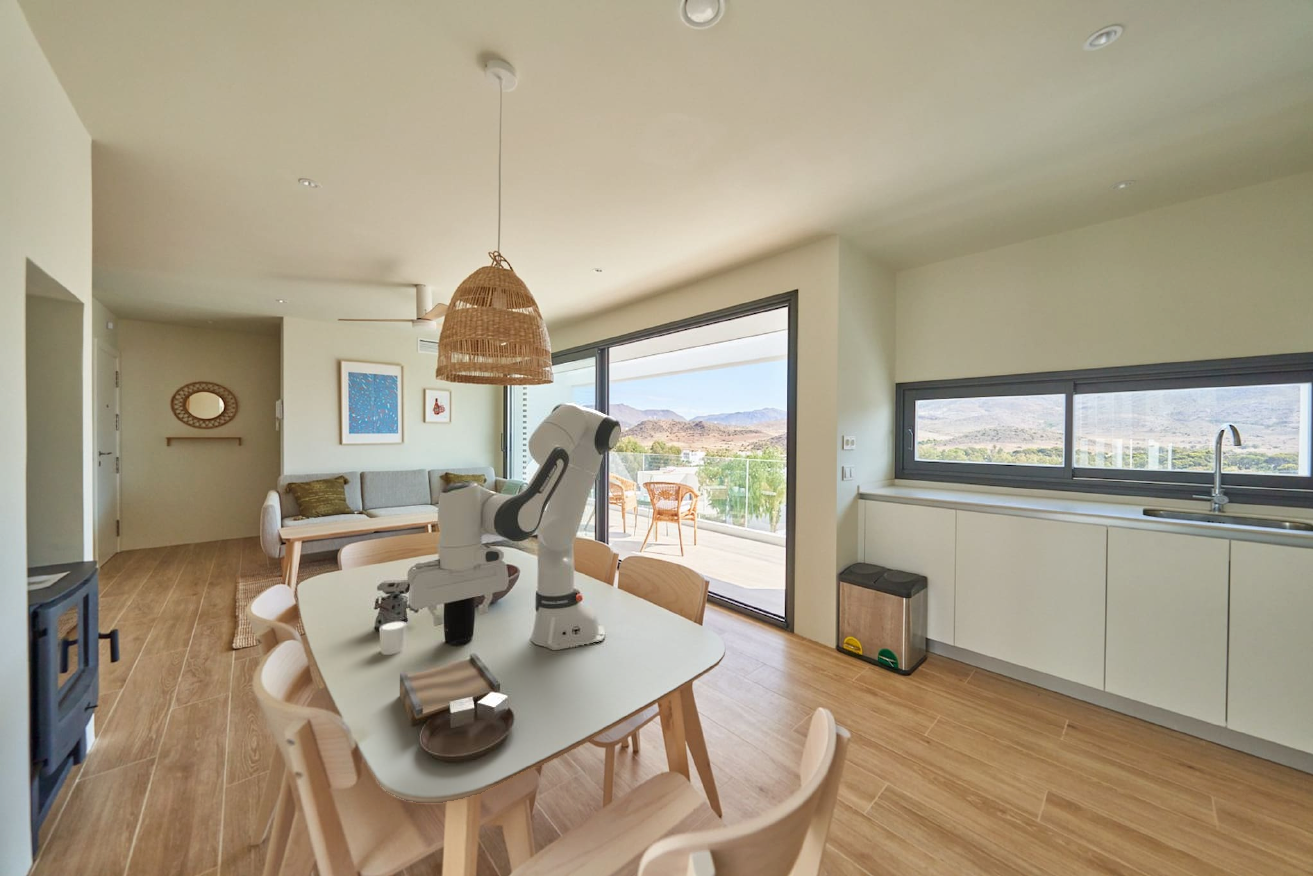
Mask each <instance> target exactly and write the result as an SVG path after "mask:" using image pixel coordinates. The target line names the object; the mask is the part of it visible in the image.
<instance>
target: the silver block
mask: <svg viewBox="0 0 1313 876" xmlns="http://www.w3.org/2000/svg"><path fill="white" fill-rule="evenodd" d="M508 707H509V695H506V694H502V693H499V692H497V693H495V692H491V693H489V694H488V695H487V696H485V697H484V698H483V699H481V700H480V701H478V702H477V717H479V718H483V719H486V720H489V721H493V722H494V721H496V720H497V719H498V718H499V717H500V716H502V715H503V714H504V713H505V712H506V711H508Z"/></svg>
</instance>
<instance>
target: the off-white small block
mask: <svg viewBox="0 0 1313 876" xmlns="http://www.w3.org/2000/svg"><path fill="white" fill-rule="evenodd" d="M449 717H450V728H453V727H457V726H461V725H465V724H469V723H474V702H473V697H469V698H464V699H460V700H455V701H451V702H450V713H449Z"/></svg>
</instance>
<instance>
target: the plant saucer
mask: <svg viewBox="0 0 1313 876" xmlns="http://www.w3.org/2000/svg"><path fill="white" fill-rule="evenodd" d="M478 701H480V700H473V702H474V723H469V724H465V725H461V726H457V727H453V728H450V717H449V713H450V708H448V709H445V710H443V711H441V712H439V713H437V714H436V715H435V716H433V717H432V718H431V719H430V720H427V721H426V723H425V724H424V726H422V729H421V730H420V734H419V743H420V745H421V746H422V748H423V749H424V750H425V751H426V752H427V753H428V754H429V755H430V756H432V757H433V758H434V759H437V760H439V761H442V762H447V763H462V762H469V761H471V760H475V759H478V758H480V757H483V756H485V755H486V754H488V753H490V752H492V751H493V750H495V748H498V746H499V745H500V744H501V743H502V742H503V741H504V740H505V739H506V737H508V735H509V733H510V731H511V730H512V728H513V726H514V724H515V714H514V711H513V710H512V708H511V707H510V706H508V711H506V712H505V713H504V714H503V715H502V716H500V717H499V718H498V719H497V720H496V721H494V722H493V721H489V720H486V719H483V718H479V717H477V702H478Z"/></svg>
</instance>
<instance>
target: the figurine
mask: <svg viewBox="0 0 1313 876" xmlns="http://www.w3.org/2000/svg"><path fill="white" fill-rule="evenodd" d="M409 589H410V584H409V583H408V579H396V580H395V579H393V580H392V579H391V580H384V581H382V582H381V583H380V584H378V585H377V586H376V590H377V591H378V592H379V591H381V592H383V593H384V594H385V595H384V596H382V595H381V596H378V597H377V598H375V601H374V606H373V607H374V608H373V610H378V609H379V610H378V613H377V616H376V617H375V623H374V626H373V627H374V628H373V630H374V632H380V631H379V628H380V626H382V625H384V624H386V623H390V622H396V621H403V622H406V623H407V622H408V621H409V618H408V613H407V612H408V611H407V609H409V611H412V612H414V614H418V613H419V612H420V611H419V610H420V609H417V610H415V609H413V608H412V607H411V606H410V604H409V596H407V594H409ZM379 601H380V602H379Z"/></svg>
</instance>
